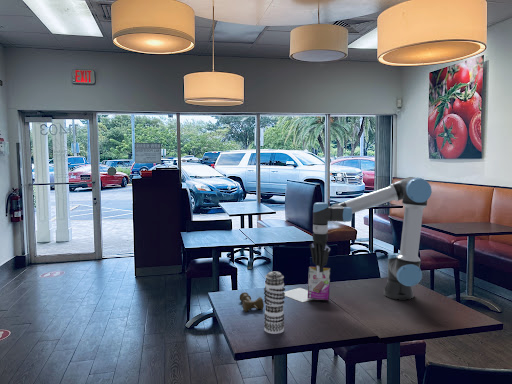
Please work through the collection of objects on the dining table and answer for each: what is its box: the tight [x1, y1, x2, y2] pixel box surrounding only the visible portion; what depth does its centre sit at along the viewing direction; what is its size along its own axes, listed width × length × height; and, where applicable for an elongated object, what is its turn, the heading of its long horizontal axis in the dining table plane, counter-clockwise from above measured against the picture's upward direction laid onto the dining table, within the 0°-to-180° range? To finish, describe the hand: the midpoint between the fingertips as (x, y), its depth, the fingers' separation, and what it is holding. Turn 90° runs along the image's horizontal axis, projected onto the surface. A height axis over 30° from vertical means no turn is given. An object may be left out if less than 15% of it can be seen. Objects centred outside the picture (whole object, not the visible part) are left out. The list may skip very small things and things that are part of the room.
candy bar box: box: [307, 266, 331, 301], centre depth 216 cm, size 11×5×16 cm, turn 84°
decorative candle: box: [263, 271, 286, 335], centre depth 177 cm, size 9×9×25 cm
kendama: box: [239, 291, 265, 313], centre depth 204 cm, size 6×10×20 cm
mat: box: [283, 287, 314, 303], centre depth 224 cm, size 18×16×1 cm
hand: (319, 277), depth 212 cm, fingers closed
